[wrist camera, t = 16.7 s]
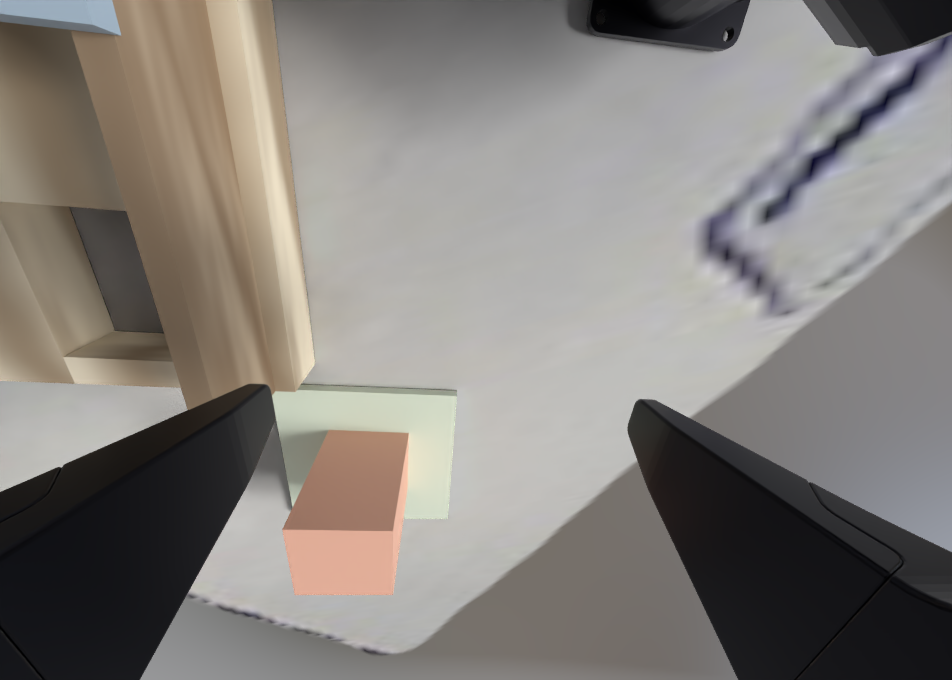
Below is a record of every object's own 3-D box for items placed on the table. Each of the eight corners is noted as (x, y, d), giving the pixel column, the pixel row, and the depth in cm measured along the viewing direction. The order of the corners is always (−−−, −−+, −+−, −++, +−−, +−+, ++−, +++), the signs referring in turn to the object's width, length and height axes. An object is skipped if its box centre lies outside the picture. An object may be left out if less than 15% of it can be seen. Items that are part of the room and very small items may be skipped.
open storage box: (235, -308, 11) (-81, -992, 5) (315, 363, 22) (253, 453, 15) (-296, -414, 10) (-1764, -1543, 3) (56, 351, 20) (-139, 444, 14)
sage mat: (456, 390, 23) (456, 395, 23) (447, 512, 28) (447, 519, 27) (274, 383, 22) (270, 388, 22) (297, 510, 27) (294, 517, 26)
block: (407, 489, 26) (392, 594, 19) (334, 487, 25) (294, 594, 19) (408, 432, 24) (392, 531, 17) (328, 429, 23) (282, 529, 17)
